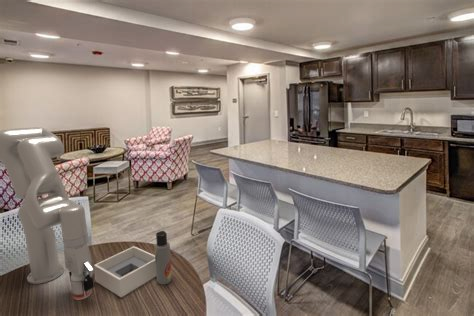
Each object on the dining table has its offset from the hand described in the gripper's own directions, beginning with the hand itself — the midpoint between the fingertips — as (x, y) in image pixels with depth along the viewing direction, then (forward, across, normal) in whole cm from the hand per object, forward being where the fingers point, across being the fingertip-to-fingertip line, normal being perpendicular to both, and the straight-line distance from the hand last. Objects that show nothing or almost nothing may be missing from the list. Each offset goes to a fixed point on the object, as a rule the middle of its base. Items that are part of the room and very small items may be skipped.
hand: (82, 284), depth 103 cm
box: (+4, +4, +16) cm, 17 cm away
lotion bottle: (+5, +17, +23) cm, 29 cm away
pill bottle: (+5, 0, 0) cm, 5 cm away
